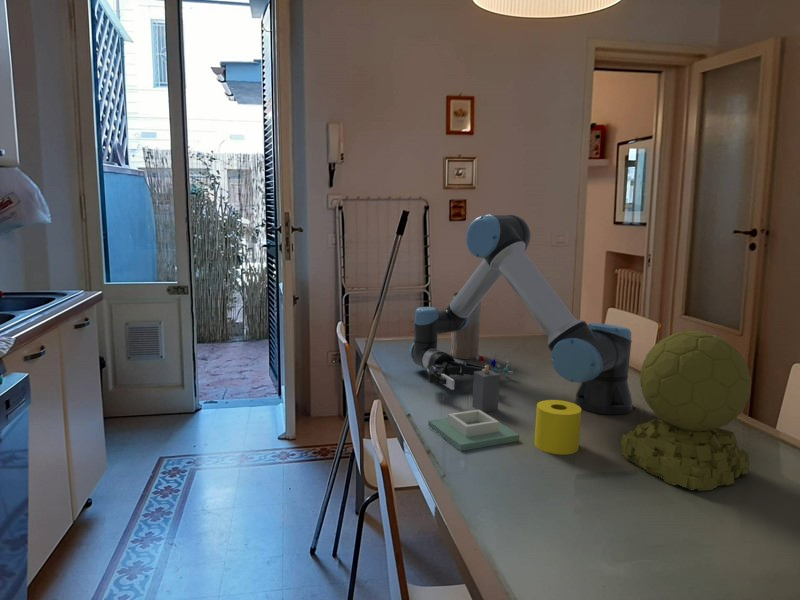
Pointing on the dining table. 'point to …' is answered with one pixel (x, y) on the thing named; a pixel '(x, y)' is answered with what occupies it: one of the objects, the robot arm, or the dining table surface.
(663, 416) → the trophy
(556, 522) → the dining table surface
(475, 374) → the plug
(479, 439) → the board
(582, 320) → the robot arm
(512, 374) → the molecular model
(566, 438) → the yellow hollow cylinder
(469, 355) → the planter
